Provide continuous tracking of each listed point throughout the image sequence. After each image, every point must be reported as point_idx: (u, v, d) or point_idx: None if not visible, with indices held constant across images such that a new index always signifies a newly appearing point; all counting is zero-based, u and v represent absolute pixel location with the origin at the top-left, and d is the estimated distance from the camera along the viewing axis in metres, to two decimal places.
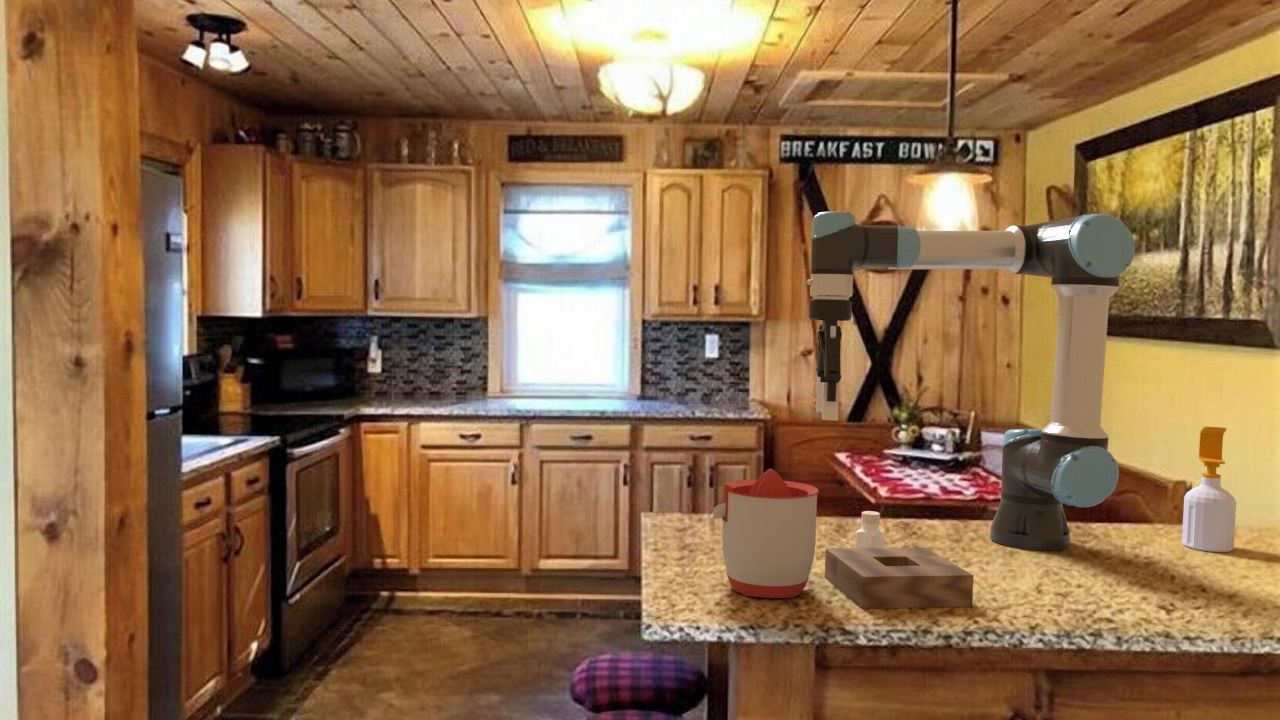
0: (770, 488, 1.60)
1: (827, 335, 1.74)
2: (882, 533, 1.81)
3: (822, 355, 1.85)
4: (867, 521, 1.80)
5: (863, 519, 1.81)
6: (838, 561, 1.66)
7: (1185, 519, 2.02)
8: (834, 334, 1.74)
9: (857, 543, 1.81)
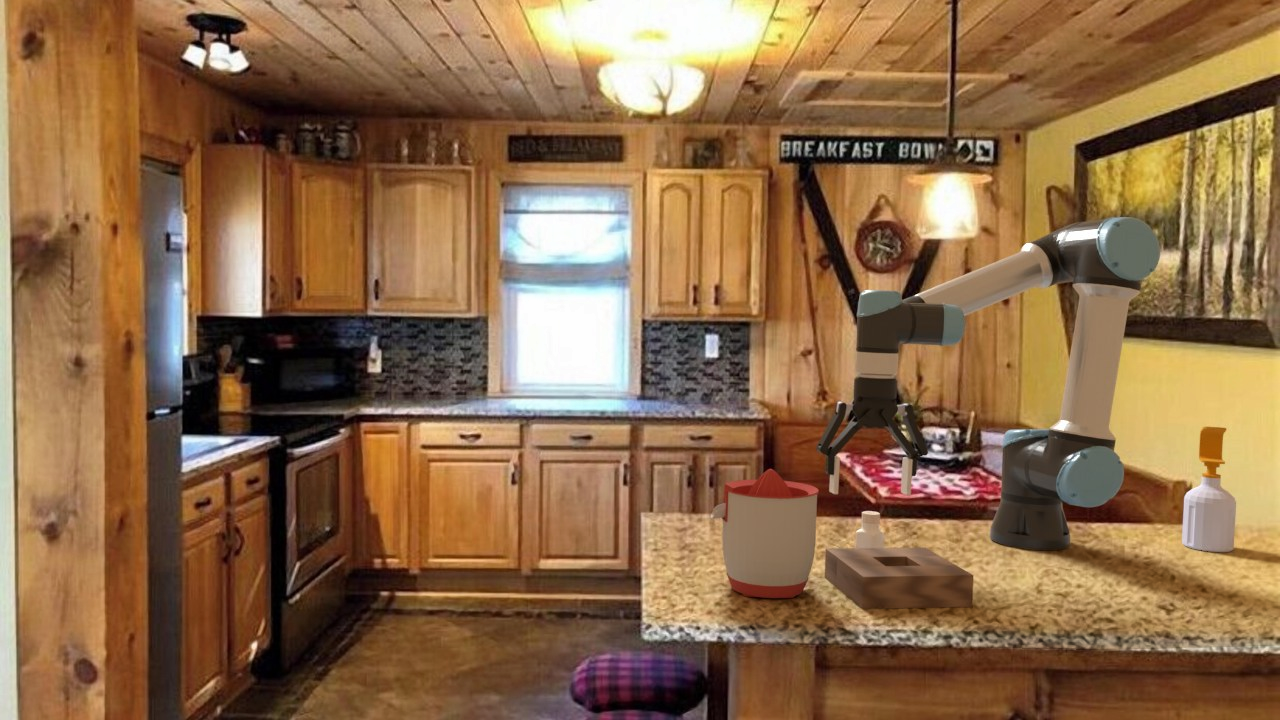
0: (770, 488, 1.60)
1: (835, 410, 1.80)
2: (882, 533, 1.81)
3: None
4: (867, 521, 1.80)
5: (863, 519, 1.81)
6: (838, 561, 1.66)
7: (1185, 519, 2.02)
8: (837, 409, 1.79)
9: (857, 543, 1.81)
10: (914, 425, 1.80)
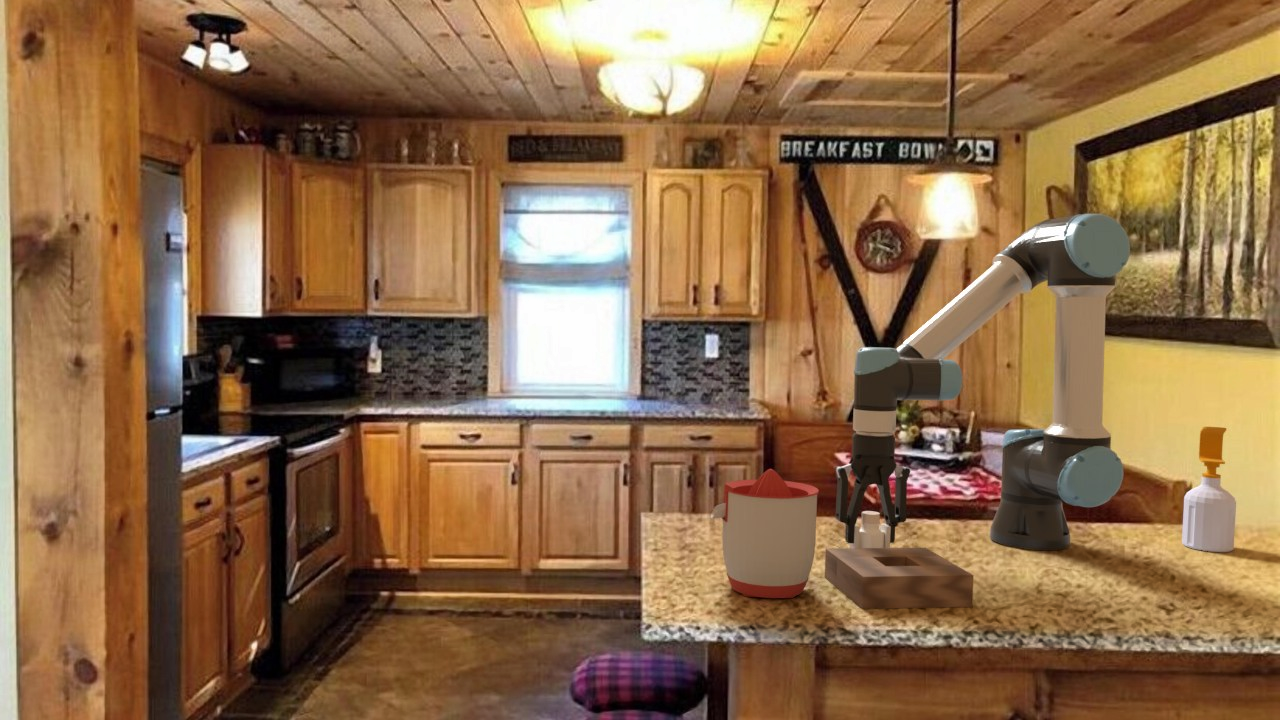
0: (770, 488, 1.60)
1: (837, 476, 1.81)
2: (882, 533, 1.81)
3: (880, 493, 1.82)
4: (867, 521, 1.80)
5: (863, 519, 1.81)
6: (838, 561, 1.66)
7: (1185, 519, 2.02)
8: (838, 476, 1.80)
9: None
10: (903, 489, 1.81)
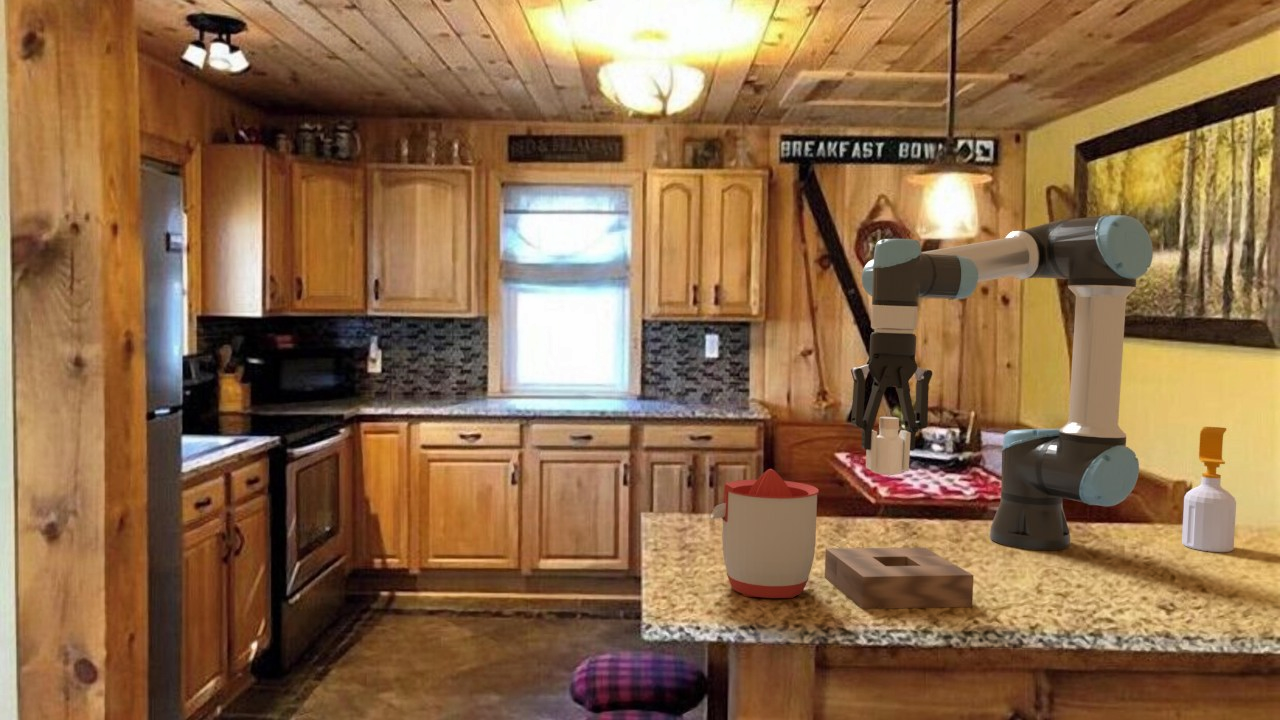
0: (770, 488, 1.60)
1: (853, 378, 1.69)
2: (901, 439, 1.69)
3: (899, 398, 1.70)
4: (885, 425, 1.68)
5: (881, 424, 1.69)
6: (838, 561, 1.66)
7: (1185, 519, 2.02)
8: (855, 377, 1.68)
9: None
10: (925, 393, 1.68)
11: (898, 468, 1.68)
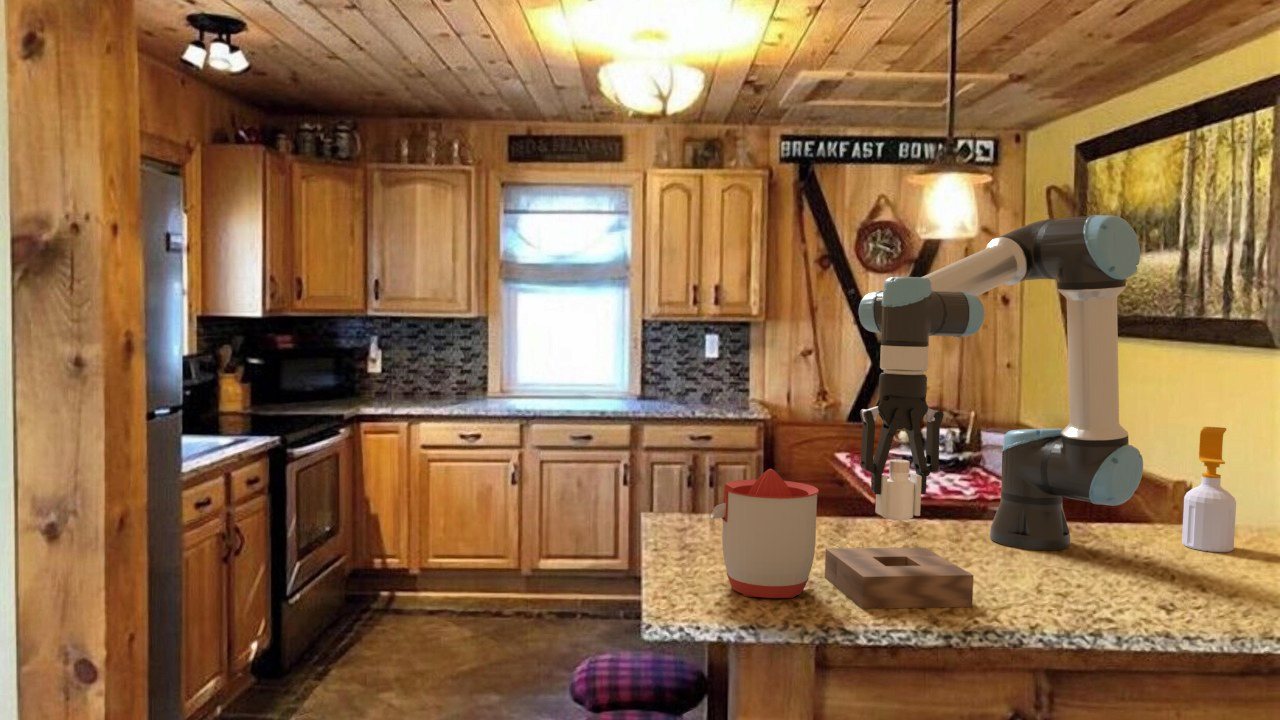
0: (770, 488, 1.60)
1: (862, 420, 1.63)
2: (912, 483, 1.63)
3: (909, 440, 1.65)
4: (895, 469, 1.63)
5: (891, 468, 1.63)
6: (838, 561, 1.66)
7: (1185, 519, 2.02)
8: (864, 419, 1.62)
9: None
10: (936, 435, 1.63)
11: (909, 513, 1.63)
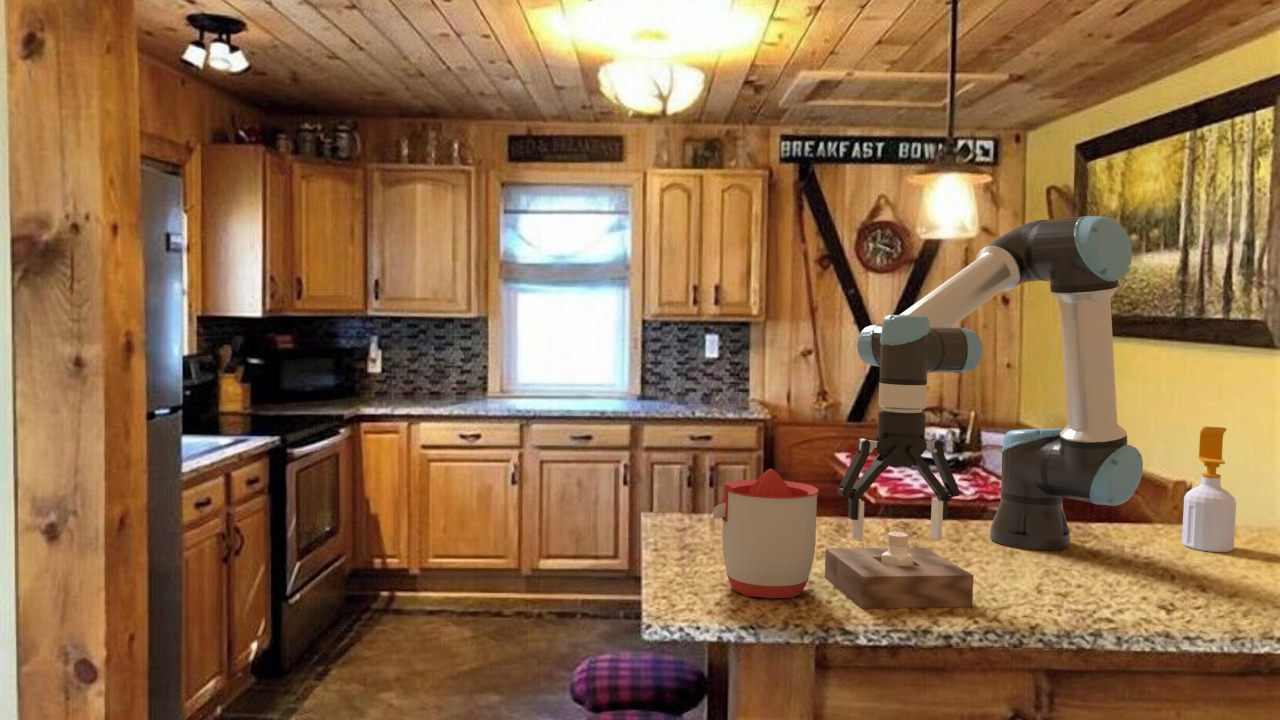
0: (770, 488, 1.60)
1: (857, 448, 1.64)
2: (910, 557, 1.64)
3: (920, 472, 1.65)
4: (893, 543, 1.63)
5: (889, 541, 1.64)
6: (838, 561, 1.66)
7: (1185, 519, 2.02)
8: (860, 447, 1.62)
9: None
10: (944, 463, 1.64)
11: None
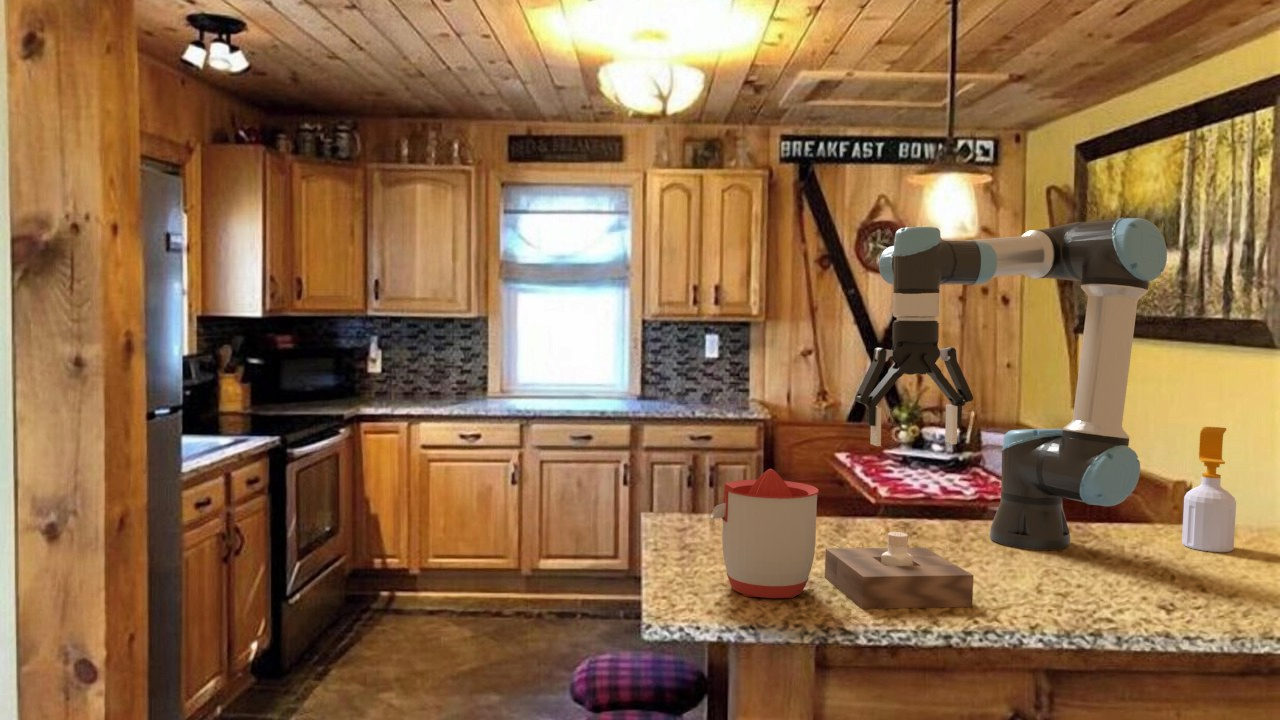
0: (770, 488, 1.60)
1: (873, 357, 1.70)
2: (910, 557, 1.64)
3: (934, 380, 1.72)
4: (893, 543, 1.63)
5: (889, 541, 1.64)
6: (838, 561, 1.66)
7: (1185, 519, 2.02)
8: (876, 356, 1.69)
9: None
10: (957, 370, 1.70)
11: None
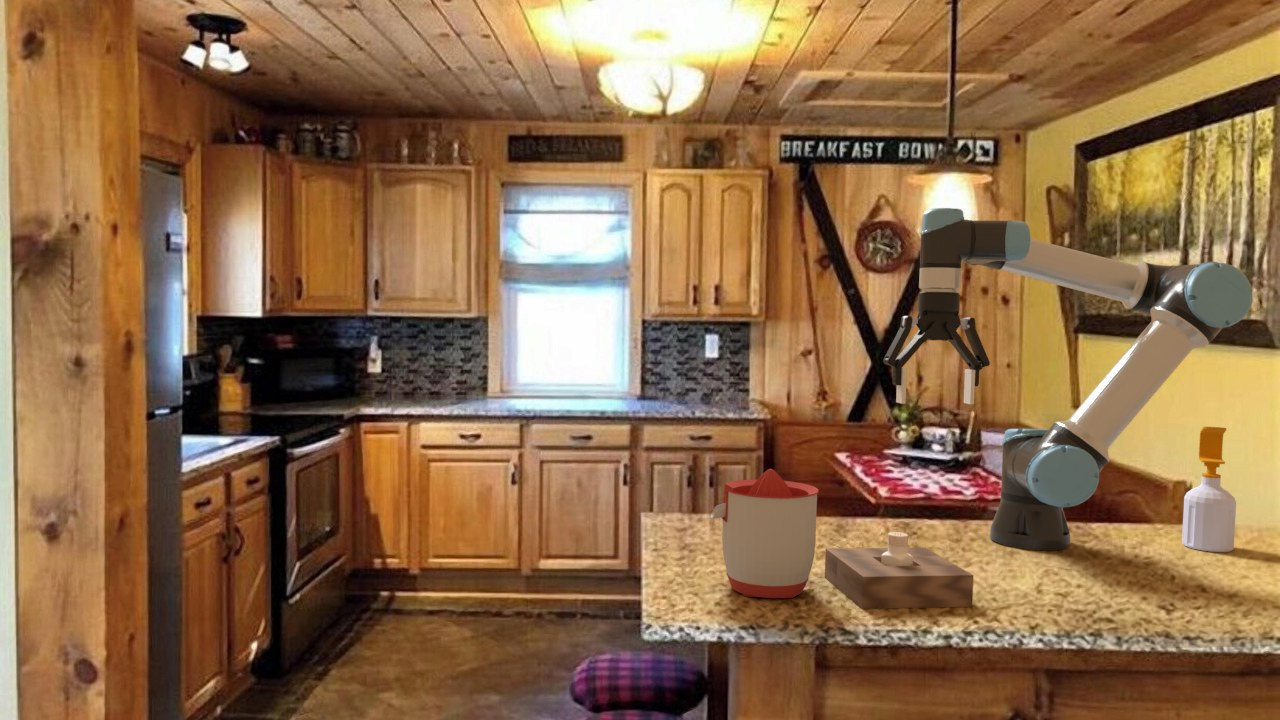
0: (770, 488, 1.60)
1: None
2: (910, 557, 1.64)
3: (954, 346, 1.91)
4: (893, 543, 1.63)
5: (889, 541, 1.64)
6: (838, 561, 1.66)
7: (1185, 519, 2.02)
8: (903, 323, 1.88)
9: None
10: (976, 337, 1.90)
11: None
